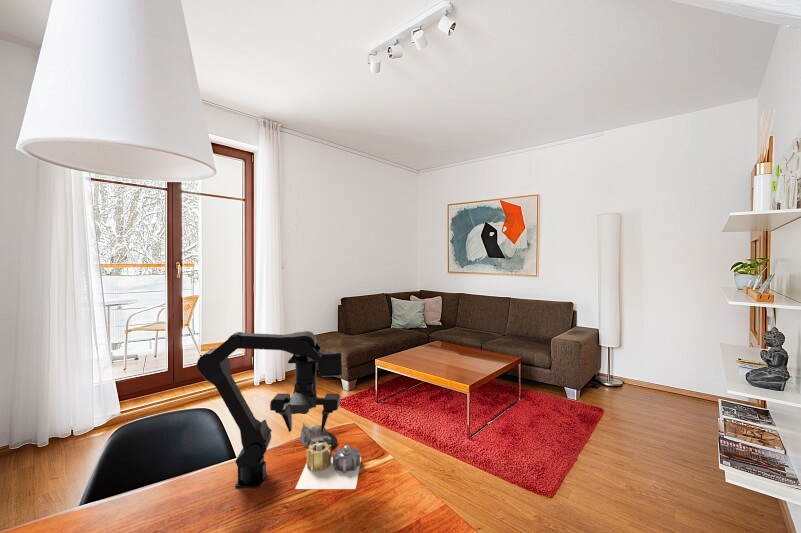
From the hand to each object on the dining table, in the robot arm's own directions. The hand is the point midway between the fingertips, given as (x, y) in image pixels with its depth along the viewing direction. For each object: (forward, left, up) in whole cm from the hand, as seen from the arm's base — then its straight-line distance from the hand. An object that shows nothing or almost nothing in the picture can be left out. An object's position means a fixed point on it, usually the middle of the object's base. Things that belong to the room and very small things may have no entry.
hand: (306, 431), depth 103 cm
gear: (+11, +3, -12) cm, 16 cm away
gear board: (+7, -1, -13) cm, 15 cm away
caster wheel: (0, +15, -13) cm, 20 cm away
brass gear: (+3, +3, -11) cm, 12 cm away
